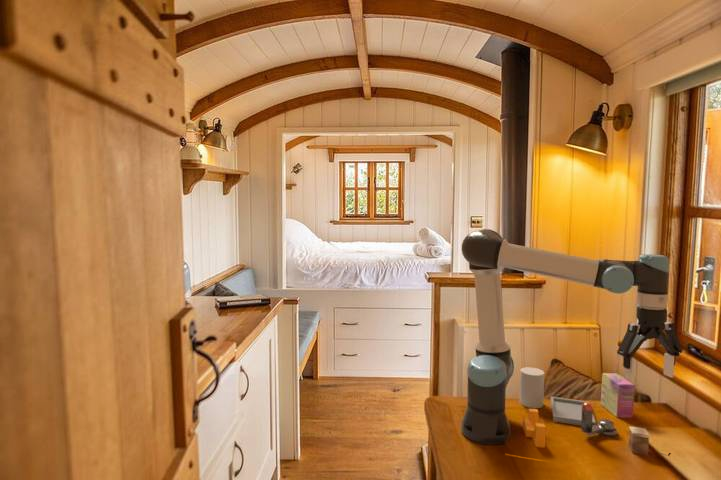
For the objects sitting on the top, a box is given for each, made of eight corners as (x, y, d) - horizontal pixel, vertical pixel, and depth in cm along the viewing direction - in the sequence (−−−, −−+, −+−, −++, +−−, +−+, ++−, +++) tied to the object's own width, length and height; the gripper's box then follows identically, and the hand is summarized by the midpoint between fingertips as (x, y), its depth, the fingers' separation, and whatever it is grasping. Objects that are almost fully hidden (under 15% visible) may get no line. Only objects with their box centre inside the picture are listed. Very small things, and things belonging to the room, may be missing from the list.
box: (633, 418, 148) (635, 384, 147) (616, 418, 148) (618, 384, 148) (616, 404, 159) (617, 372, 158) (600, 404, 159) (601, 372, 158)
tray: (553, 421, 146) (553, 416, 146) (550, 401, 161) (550, 396, 161) (595, 427, 141) (595, 422, 141) (588, 406, 157) (588, 401, 157)
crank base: (591, 430, 139) (591, 427, 139) (600, 425, 143) (601, 422, 143) (664, 459, 123) (664, 456, 123) (672, 453, 127) (672, 449, 127)
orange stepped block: (522, 427, 142) (523, 408, 142) (536, 428, 141) (537, 409, 141) (529, 446, 130) (530, 425, 130) (544, 448, 130) (545, 427, 129)
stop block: (631, 453, 127) (632, 432, 126) (628, 445, 131) (629, 426, 130) (648, 455, 125) (649, 435, 125) (644, 448, 129) (645, 428, 129)
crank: (604, 423, 142) (605, 394, 141) (617, 430, 138) (618, 399, 137) (576, 431, 136) (577, 401, 136) (589, 438, 132) (590, 406, 132)
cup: (545, 401, 161) (546, 370, 160) (541, 410, 154) (542, 377, 153) (522, 396, 165) (523, 365, 164) (517, 404, 158) (518, 372, 158)
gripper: (624, 311, 122) (621, 385, 124) (699, 308, 127) (695, 379, 128) (605, 305, 130) (602, 375, 131) (676, 302, 134) (673, 370, 136)
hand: (648, 377), depth 130 cm, fingers open, 13 cm apart
